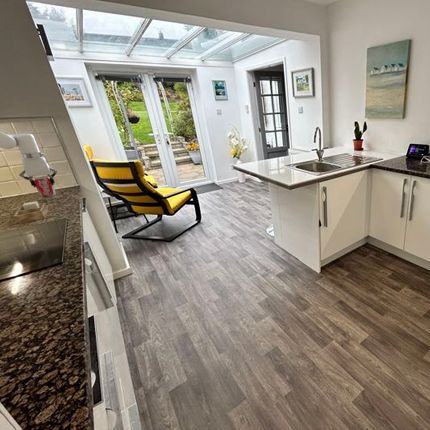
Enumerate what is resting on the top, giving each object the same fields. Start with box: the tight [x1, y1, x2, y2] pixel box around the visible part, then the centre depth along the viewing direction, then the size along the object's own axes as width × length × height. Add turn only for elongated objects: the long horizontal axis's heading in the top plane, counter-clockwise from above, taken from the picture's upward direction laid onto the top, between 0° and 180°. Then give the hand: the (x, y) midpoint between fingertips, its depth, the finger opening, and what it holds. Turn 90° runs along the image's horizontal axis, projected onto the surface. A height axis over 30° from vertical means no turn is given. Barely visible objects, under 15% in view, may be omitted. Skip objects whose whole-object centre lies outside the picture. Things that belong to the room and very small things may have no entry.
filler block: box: [22, 200, 40, 210], centre depth 142 cm, size 5×5×6 cm
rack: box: [13, 202, 49, 225], centre depth 139 cm, size 10×19×5 cm, turn 41°
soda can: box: [33, 176, 57, 199], centre depth 158 cm, size 7×7×12 cm
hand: (44, 185), depth 158 cm, fingers closed on soda can, 7 cm apart
